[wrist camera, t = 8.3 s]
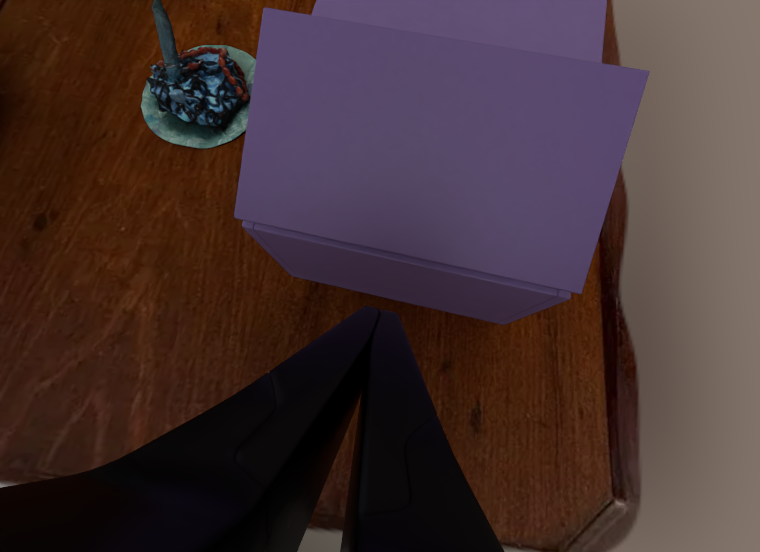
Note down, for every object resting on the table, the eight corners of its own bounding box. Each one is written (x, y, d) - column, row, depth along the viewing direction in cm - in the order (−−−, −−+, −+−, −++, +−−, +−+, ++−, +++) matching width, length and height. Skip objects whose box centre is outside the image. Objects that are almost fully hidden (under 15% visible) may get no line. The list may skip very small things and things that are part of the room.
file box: (504, 325, 20) (583, 294, 12) (290, 276, 21) (231, 217, 13) (534, 113, 24) (610, -18, 16) (353, 81, 25) (337, -58, 17)
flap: (576, 292, 12) (581, 294, 12) (238, 218, 13) (233, 217, 13) (642, 76, 11) (650, 70, 11) (268, 13, 12) (263, 6, 12)
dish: (92, 103, 22) (130, -20, 18) (157, 94, 28) (194, 1, 24) (211, 183, 24) (263, 86, 21) (247, 158, 30) (291, 81, 27)
